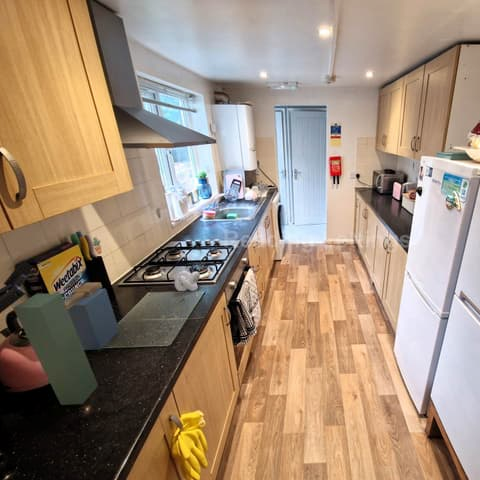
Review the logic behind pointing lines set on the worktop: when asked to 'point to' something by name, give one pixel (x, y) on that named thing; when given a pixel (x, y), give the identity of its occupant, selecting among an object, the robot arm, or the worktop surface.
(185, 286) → the white knot
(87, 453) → the worktop surface
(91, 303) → the blue box
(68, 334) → the green block
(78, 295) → the tan slab
